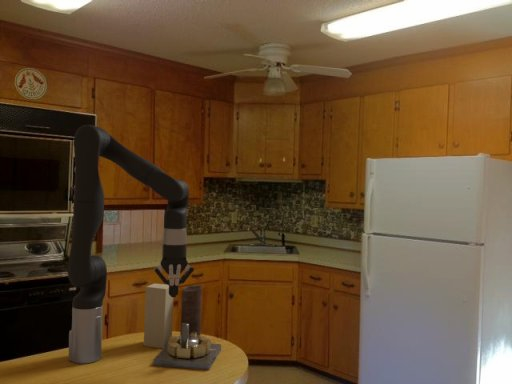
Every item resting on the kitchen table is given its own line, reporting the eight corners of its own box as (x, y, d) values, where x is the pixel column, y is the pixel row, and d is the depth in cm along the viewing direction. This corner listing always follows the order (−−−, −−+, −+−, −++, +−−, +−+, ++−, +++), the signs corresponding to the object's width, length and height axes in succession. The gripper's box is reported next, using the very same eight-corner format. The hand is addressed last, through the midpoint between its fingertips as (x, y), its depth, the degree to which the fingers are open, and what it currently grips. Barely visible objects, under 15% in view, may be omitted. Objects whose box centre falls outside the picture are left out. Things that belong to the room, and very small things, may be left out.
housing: (153, 365, 148) (154, 346, 148) (171, 346, 166) (171, 329, 166) (209, 370, 146) (209, 350, 146) (221, 349, 164) (221, 332, 164)
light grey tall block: (173, 342, 170) (174, 284, 170) (164, 348, 163) (165, 288, 163) (153, 339, 172) (154, 282, 172) (143, 346, 165) (144, 286, 165)
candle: (202, 343, 170) (204, 288, 170) (182, 345, 167) (184, 289, 167) (197, 336, 177) (198, 283, 177) (178, 338, 175) (179, 284, 174)
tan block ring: (162, 356, 150) (163, 323, 150) (175, 342, 164) (176, 312, 163) (204, 359, 148) (205, 326, 148) (213, 345, 162) (214, 314, 162)
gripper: (154, 244, 143) (153, 300, 143) (197, 243, 147) (196, 298, 147) (152, 241, 150) (151, 295, 151) (193, 240, 154) (192, 293, 154)
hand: (173, 296), depth 149 cm, fingers closed
